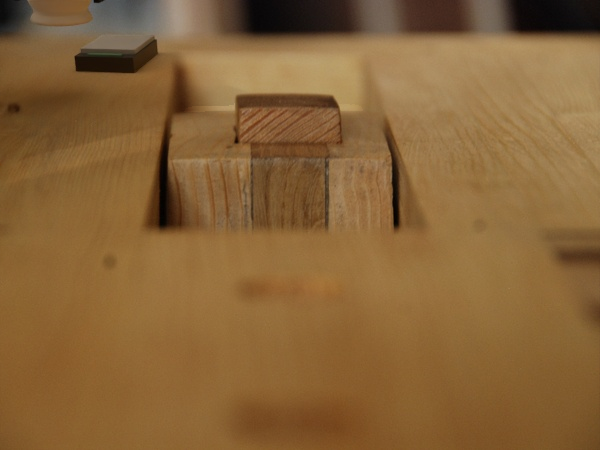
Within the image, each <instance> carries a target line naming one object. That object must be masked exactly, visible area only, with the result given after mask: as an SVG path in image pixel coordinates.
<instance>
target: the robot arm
mask: <svg viewBox="0 0 600 450" xmlns="http://www.w3.org/2000/svg"><path fill="white" fill-rule="evenodd" d="M13 1H14V2H16V1H17V2H19V1H21V0H13ZM104 1H105V0H93V4H101V3H102V2H104Z"/></svg>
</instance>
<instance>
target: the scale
mask: <svg viewBox="0 0 600 450" xmlns="http://www.w3.org/2000/svg"><path fill="white" fill-rule="evenodd" d="M158 53H159V51H158V39H156V38H155V34H130V33H128V34H127V33H126V34H125V33H124V34H123V33H102V34H101V35H100V36H98V37H97V38H96V37H95V38H94V39H93V40H91V41H90V42H88V43H86V44H85V45H84V46H81V47H80V52H78V53H77V54H76V55H74V66H75V71H76V72H99V73H133V74H134V73H136V72H137V71H138V70H140V69H141V68H142V67H143V66H145V64H147V63H148V62H149V61H150V60H152V59H153V58H154V57H155V56H157V54H158Z"/></svg>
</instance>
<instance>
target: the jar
mask: <svg viewBox="0 0 600 450" xmlns="http://www.w3.org/2000/svg"><path fill="white" fill-rule="evenodd" d="M26 1H27V3H28V5H29V7H30V8H31V9H32V14H31V16H30V18H29V19H30V20H29V21H30V22H31V23H32V24H34V25H37V26H42V27H57V28H58V27H60V28H61V27H74V26H75V27H76V26H81V25H86V24H88V23H91V22H92V21H93V19H94V16H93V14H92V13H91V11H90V10H89V7H90V6H91V3H92V0H26Z"/></svg>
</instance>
